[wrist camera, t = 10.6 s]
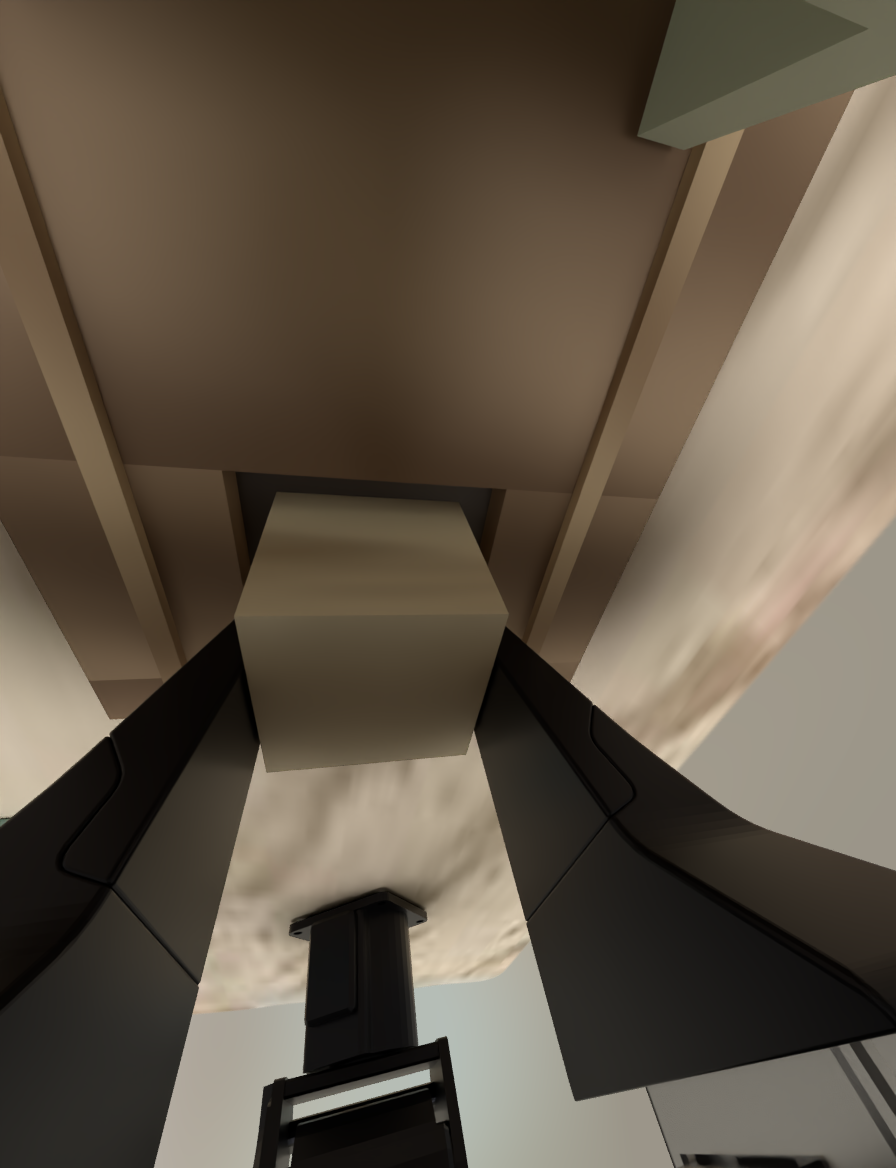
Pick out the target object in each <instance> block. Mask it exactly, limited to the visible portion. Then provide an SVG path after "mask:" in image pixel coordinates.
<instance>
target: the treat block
mask: <svg viewBox="0 0 896 1168" xmlns="http://www.w3.org/2000/svg"><path fill="white" fill-rule="evenodd" d="M508 616H509V613H508V611H507V609H506V606H505V604H504V602H503V600H502V597H501V595H500V593H499V591H498V588H497V586H496V584H495V582H494V580H493V577H492V575H491V573H490V571H489V568H488V566H487V564H486V562H485V560H484V557H483V555H482V553H481V551H480V548H479V546H478V544H477V542H476V539H475V537H474V535H473V533H472V531H471V528H470V526H469V524H468V522H467V519H466V517H465V515H464V513H463V511H462V508H461V506H460V504H459V502H447V501H430V500H412V499H394V498H377V497H359V496H341V495H324V494H306V493H288V492H276V495H275V498H274V501H273V504H272V507H271V510H270V513H269V516H268V518H267V521H266V524H265V527H264V530H263V533H262V536H261V539H260V542H259V545H258V548H257V551H256V554H255V556H254V559H253V562H252V565H251V568H250V571H249V574H248V577H247V580H246V583H245V586H244V589H243V592H242V594H241V597H240V600H239V603H238V606H237V609H236V612H235V615H234V619H235V624H236V628H237V633H238V638H239V643H240V647H241V652H242V657H243V662H244V667H245V671H246V676H247V681H248V686H249V691H250V695H251V700H252V705H253V710H254V715H255V719H256V724H257V729H258V734H259V739H260V743H261V748H262V753H263V758H264V763H265V767H266V772H267V773H268V772H279V771H290V770H301V769H312V768H323V767H334V766H345V765H357V764H368V763H379V762H390V761H401V760H412V759H423V758H434V757H445V756H456V755H466V753H467V750H468V747H469V743H470V740H471V737H472V733H473V730H474V727H475V724H476V720H477V717H478V714H479V711H480V707H481V704H482V701H483V697H484V694H485V691H486V688H487V684H488V681H489V678H490V675H491V671H492V668H493V665H494V661H495V658H496V655H497V652H498V648H499V645H500V642H501V639H502V635H503V632H504V629H505V625H506V622H507V619H508Z"/></svg>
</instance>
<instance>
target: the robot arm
mask: <svg viewBox="0 0 896 1168" xmlns="http://www.w3.org/2000/svg"><path fill="white" fill-rule="evenodd" d="M474 732H475V735H476V739H477V743H478V746H479V750H480V754H481V758H482V761H483V765H484V769H485V772H486V776H487V780H488V783H489V787H490V791H491V794H492V798H493V802H494V805H495V809H496V813H497V817H498V820H499V824H500V828H501V831H502V835H503V839H504V842H505V846H506V850H507V853H508V857H509V861H510V864H511V868H512V872H513V876H514V879H515V883H516V887H517V890H518V894H519V898H520V901H521V905H522V909H523V912H524V916H525V920H526V921H528V922H527V928H528V932H529V935H530V939H531V943H532V946H533V950H534V954H535V958H536V961H537V965H538V969H539V972H540V976H541V979H542V983H543V987H544V991H545V995H546V998H547V1002H548V1006H549V1009H550V1013H551V1016H552V1020H553V1024H554V1027H555V1031H556V1035H557V1039H558V1042H559V1045H560V1050H561V1053H562V1057H563V1061H564V1065H565V1068H566V1072H567V1076H568V1079H569V1083H570V1086H571V1090H572V1093H573V1096H574V1099H575V1101H581V1100H585V1099H590V1098H595V1097H600V1096H604V1095H609V1094H613V1093H618V1092H623V1091H627V1090H633V1089H637V1088H642V1087H646V1090H647V1093H648V1096H649V1098H650V1101H651V1104H652V1107H653V1109H654V1112H655V1115H656V1118H657V1121H658V1124H659V1126H660V1129H661V1132H662V1135H663V1138H664V1140H665V1143H666V1146H667V1149H668V1152H669V1154H670V1157H671V1160H672V1163H673V1166H674V1168H896V871H895V870H891V869H889V868H885V867H882V866H879V865H876V864H873V863H869V862H867V861H864V860H860V859H857V858H854V857H851V856H848V855H845V854H842V853H839V852H835V851H832V850H829V849H826V848H823V847H819V846H817V845H813V844H810V843H807V842H804V841H801V840H798V839H795V838H792V837H788V836H785V835H782V834H779V833H776V832H773V831H770V830H767V829H765V828H762V827H760V826H758V825H755V824H753V823H751V822H749V821H747V820H746V819H744V818H742V817H740V816H738V815H737V814H735V813H733V812H732V811H730V810H729V809H727V808H726V807H724V806H723V805H722V804H720V803H719V802H717V801H716V800H715V799H713V798H712V797H711V796H709V795H708V794H706V793H705V792H704V791H703V790H701V789H700V788H699V787H697V786H696V785H695V784H693V783H692V782H691V781H689V780H688V779H687V778H686V777H684V776H683V775H681V774H680V773H679V772H678V771H676V770H675V769H674V768H672V767H671V766H670V765H668V764H667V763H666V762H664V761H663V760H662V759H660V758H659V757H658V756H656V755H655V754H654V753H653V752H651V751H650V750H649V749H647V748H646V747H645V746H644V745H642V744H641V743H640V742H639V741H637V740H636V739H635V738H633V737H632V736H631V735H630V734H629V733H627V732H626V731H625V730H624V729H623V728H621V727H620V726H619V725H618V724H617V723H616V722H614V721H613V720H612V719H611V718H610V717H609V716H607V715H606V714H605V713H604V712H603V711H602V710H601V709H599V708H598V707H597V706H596V705H593V703H592V702H591V701H590V700H589V699H588V698H587V697H586V696H585V695H583V694H582V693H581V692H580V691H579V690H578V689H577V688H575V687H574V686H573V685H572V684H571V683H570V682H569V681H568V680H566V679H565V678H564V677H563V676H562V675H561V674H560V673H558V672H557V671H556V670H555V669H554V668H553V667H552V666H551V665H549V664H548V663H547V662H546V661H545V660H544V659H543V658H541V657H540V656H539V655H538V654H537V653H536V652H535V651H534V650H532V649H531V648H530V647H529V646H528V645H527V644H526V643H525V642H523V641H522V640H521V639H520V638H519V637H518V636H517V635H515V634H514V633H513V632H512V631H511V630H510V629H509V628H508V627H506V626H505V629H504V632H503V635H502V639H501V642H500V645H499V648H498V652H497V655H496V658H495V661H494V665H493V668H492V671H491V675H490V678H489V681H488V684H487V688H486V691H485V694H484V697H483V701H482V704H481V707H480V711H479V714H478V717H477V720H476V724H475V727H474ZM109 735H110V737H105V738H103V739H102V740H101V741H100V742H99V743H98V744H97V745H96V746H95V747H94V748H92V749H91V750H90V751H89V752H88V753H87V754H86V755H85V756H84V757H82V758H81V759H80V760H79V761H78V762H77V763H76V764H75V765H73V766H72V767H71V768H70V769H69V770H68V771H67V772H65V773H64V774H63V775H62V776H61V777H60V778H59V779H57V780H56V781H55V782H54V783H53V784H52V785H51V786H49V787H48V788H47V789H46V790H44V791H43V792H42V793H41V794H40V795H38V796H37V797H36V798H35V799H33V800H32V801H31V802H30V803H29V804H27V805H26V806H25V807H24V808H22V809H21V810H20V811H19V812H18V813H16V814H15V815H14V816H13V817H11V818H10V819H9V820H8V821H6V822H5V823H4V824H3V825H1V826H0V1168H154V1164H155V1160H156V1156H157V1152H158V1148H159V1144H160V1140H161V1136H162V1132H163V1129H164V1124H165V1121H166V1117H167V1112H168V1108H169V1105H170V1100H171V1097H172V1093H173V1089H174V1085H175V1081H176V1077H177V1073H178V1069H179V1065H180V1061H181V1057H182V1052H183V1049H184V1045H185V1041H186V1037H187V1033H188V1029H189V1025H190V1021H191V1017H192V1013H193V1009H194V1005H195V1001H196V997H197V993H198V989H199V987H198V984H199V983H200V981H201V977H202V973H203V969H204V965H205V961H206V957H207V953H208V949H209V945H210V941H211V937H212V933H213V929H214V925H215V921H216V917H217V913H218V909H219V905H220V901H221V897H222V893H223V889H224V885H225V881H226V877H227V873H228V869H229V865H230V861H231V857H232V853H233V849H234V845H235V841H236V837H237V833H238V829H239V825H240V821H241V817H242V814H243V810H244V806H245V802H246V798H247V794H248V790H249V786H250V782H251V778H252V774H253V770H254V766H255V762H256V758H257V754H258V750H259V746H260V739H259V734H258V729H257V724H256V719H255V715H254V710H253V705H252V700H251V695H250V691H249V686H248V681H247V676H246V671H245V667H244V662H243V657H242V652H241V647H240V643H239V638H238V633H237V628H236V624H235V619H234V620H233V621H232V622H230V623H229V624H228V625H227V626H226V627H225V628H224V629H223V630H222V631H221V632H220V633H218V634H217V635H216V636H215V637H214V638H213V639H212V640H211V641H210V642H209V643H208V644H206V645H205V646H204V647H203V648H202V649H201V650H200V651H199V652H198V653H197V654H195V655H194V656H193V657H192V658H191V659H190V660H189V661H188V662H187V663H186V664H185V665H183V666H182V667H181V668H180V669H179V670H178V671H177V672H176V673H175V674H174V675H173V676H171V677H170V678H169V679H168V680H167V681H166V682H165V683H164V684H163V685H162V686H160V687H159V688H158V689H157V690H156V691H155V692H154V693H153V694H152V695H151V696H150V697H148V698H147V699H146V700H145V701H144V702H143V703H142V704H141V705H140V706H139V707H138V708H136V709H135V710H134V711H133V712H132V713H131V714H130V715H129V716H128V717H127V718H126V719H124V720H123V721H122V722H121V723H120V724H119V725H118V726H117V727H116V728H115V729H113V730H112V731H111V732H110V734H109ZM426 921H427V913H426V912H425V911H424V910H422V909H420V908H418V907H416V906H414V905H412V904H410V903H408V902H406V901H404V900H402V899H400V898H398V897H396V896H395V895H393V894H391V893H389V892H380V893H377V894H374V895H371V896H368V897H366V898H363V899H360V900H357V901H354V902H352V903H349V904H346V905H343V906H341V907H338V908H335V909H332V910H329V911H327V912H324V913H321V914H318V915H316V916H313V917H310V918H307V919H304V920H302V921H299V922H296V923H293V924H291V925H290V930H289V935H290V936H292V937H296V938H299V939H303V940H307V941H310V942H309V957H308V973H307V988H306V1003H305V1019H304V1020H305V1025H306V1032H305V1048H304V1065H303V1073H307V1075H303V1076H299V1077H295V1078H291V1079H288V1078H287V1077H283V1078H279V1079H275V1080H274V1083H273V1084H270V1085H268V1086H265V1087H264V1089H263V1098H262V1107H261V1116H260V1125H259V1133H258V1141H257V1147H256V1153H255V1160H254V1165H253V1168H468V1164H467V1157H466V1151H465V1144H464V1138H463V1133H462V1126H461V1120H460V1113H459V1107H458V1101H457V1095H456V1088H455V1083H454V1076H453V1070H452V1063H451V1057H450V1051H449V1045H448V1039H447V1037H446V1036H445V1037H442V1038H438V1039H436V1041H435V1042H433V1043H429V1044H425V1045H421V1046H418V1037H417V1024H416V1013H415V1001H414V988H413V976H412V964H411V952H410V940H409V928H410V927H412V926H415V925H418V924H421V923H424V922H426ZM427 1069H430V1079H431V1082H429V1083H425V1084H422V1085H418V1086H415V1087H411V1088H407V1089H404V1090H400V1091H396V1092H393V1093H389V1094H386V1095H382V1096H378V1097H375V1098H371V1099H367V1100H364V1101H360V1102H357V1103H353V1104H349V1105H346V1106H342V1107H339V1108H335V1109H331V1110H327V1111H324V1112H321V1113H317V1114H313V1115H310V1116H306V1117H302V1118H299V1119H295V1120H293V1105H297V1104H300V1103H304V1102H308V1101H311V1100H315V1099H319V1098H323V1097H326V1096H330V1095H334V1094H337V1093H341V1092H345V1091H349V1090H352V1089H356V1088H360V1087H364V1086H367V1085H371V1084H375V1083H379V1082H382V1081H386V1080H390V1079H393V1078H397V1077H401V1076H405V1075H408V1074H412V1073H415V1072H419V1071H423V1070H427ZM290 1154H292V1161H291V1167H288V1166H289V1158H290Z"/></svg>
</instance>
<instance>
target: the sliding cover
mask: <svg viewBox="0 0 896 1168" xmlns="http://www.w3.org/2000/svg"><path fill="white" fill-rule="evenodd" d="M894 75H896V0H676V2H675V6H674V9H673V13H672V16H671V20H670V23H669V27H668V30H667V34H666V37H665V41H664V44H663V48H662V51H661V54H660V58H659V61H658V65H657V68H656V72H655V75H654V79H653V82H652V86H651V89H650V93H649V96H648V100H647V103H646V107H645V110H644V114H643V117H642V121H641V124H640V127H639V131H638V134H637V136H638V137H642V138H645V139H648V140H652V141H655V142H658V143H662V144H665V145H668V146H672V147H675V148H678V149H682V150H686V149H688V148H691V147H694V146H697V145H700V144H702V143H705V142H708V141H711V140H714V139H717V138H719V137H722V136H725V135H728V134H731V133H733V132H736V131H739V130H742V129H745V128H748V127H750V126H753V125H756V124H759V123H762V122H764V121H767V120H770V119H773V118H776V117H779V116H781V115H784V114H787V113H790V112H793V111H795V110H798V109H801V108H804V107H807V106H810V105H812V104H815V103H818V102H821V101H824V100H826V99H829V98H832V97H835V96H838V95H840V94H843V93H846V92H849V91H852V90H855V89H857V88H860V87H863V86H866V85H869V84H871V83H874V82H877V81H880V80H883V79H886V78H888V77H891V76H894Z"/></svg>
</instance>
